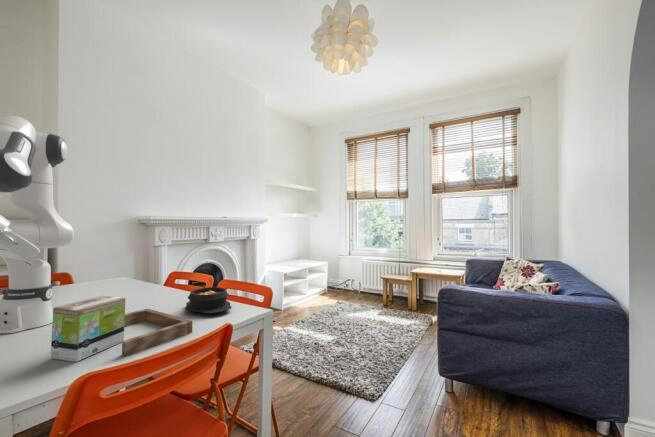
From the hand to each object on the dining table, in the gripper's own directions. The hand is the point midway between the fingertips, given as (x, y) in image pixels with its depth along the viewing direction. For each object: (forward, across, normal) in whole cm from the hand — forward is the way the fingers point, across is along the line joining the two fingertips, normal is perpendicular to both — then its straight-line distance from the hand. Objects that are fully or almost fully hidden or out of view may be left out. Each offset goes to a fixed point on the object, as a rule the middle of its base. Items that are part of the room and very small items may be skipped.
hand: (37, 265), depth 80 cm
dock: (+38, 0, +1) cm, 38 cm away
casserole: (+61, +3, -22) cm, 65 cm away
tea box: (+28, 0, +11) cm, 30 cm away
